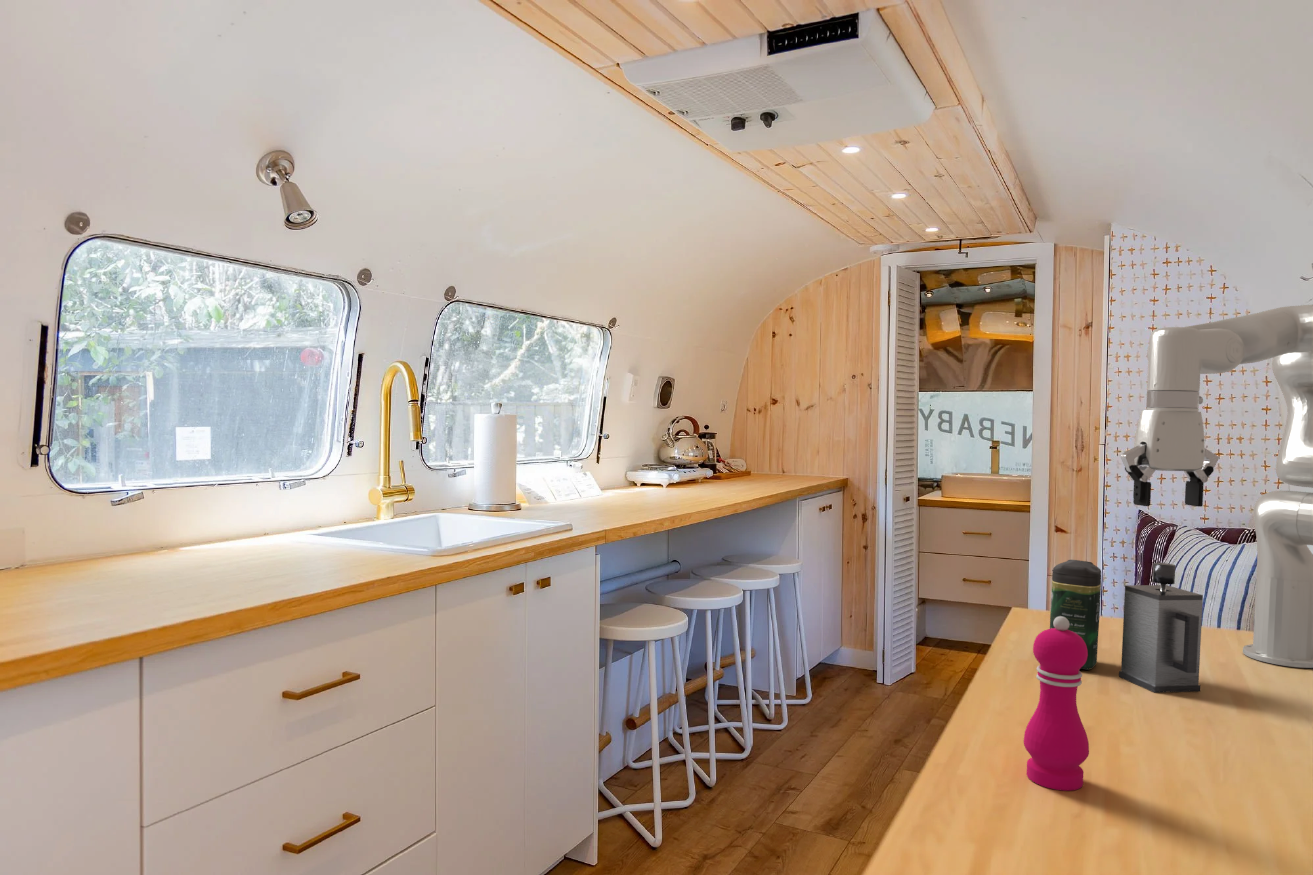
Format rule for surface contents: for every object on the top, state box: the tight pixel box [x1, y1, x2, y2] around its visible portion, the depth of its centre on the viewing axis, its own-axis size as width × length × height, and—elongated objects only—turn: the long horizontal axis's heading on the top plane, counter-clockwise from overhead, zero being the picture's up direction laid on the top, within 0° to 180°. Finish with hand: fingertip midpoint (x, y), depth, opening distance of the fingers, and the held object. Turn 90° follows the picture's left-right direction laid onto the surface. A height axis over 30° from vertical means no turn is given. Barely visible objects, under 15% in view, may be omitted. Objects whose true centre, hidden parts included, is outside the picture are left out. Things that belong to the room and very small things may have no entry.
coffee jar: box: [1049, 559, 1102, 671], centre depth 157 cm, size 10×8×19 cm
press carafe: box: [1118, 584, 1204, 694], centre depth 145 cm, size 8×11×16 cm
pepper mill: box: [1023, 616, 1090, 792], centre depth 106 cm, size 7×7×20 cm
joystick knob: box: [1152, 562, 1176, 591], centre depth 147 cm, size 6×6×14 cm
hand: (1167, 505), depth 146 cm, fingers open, 9 cm apart
